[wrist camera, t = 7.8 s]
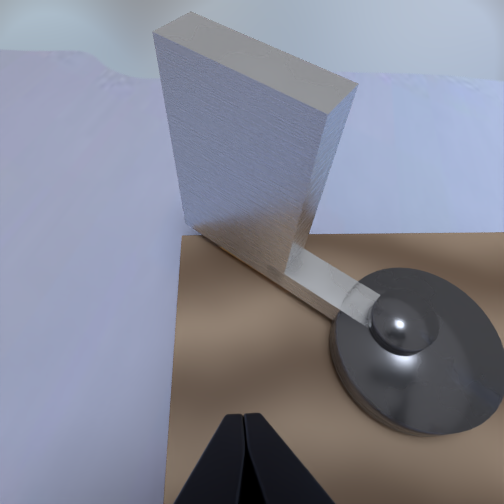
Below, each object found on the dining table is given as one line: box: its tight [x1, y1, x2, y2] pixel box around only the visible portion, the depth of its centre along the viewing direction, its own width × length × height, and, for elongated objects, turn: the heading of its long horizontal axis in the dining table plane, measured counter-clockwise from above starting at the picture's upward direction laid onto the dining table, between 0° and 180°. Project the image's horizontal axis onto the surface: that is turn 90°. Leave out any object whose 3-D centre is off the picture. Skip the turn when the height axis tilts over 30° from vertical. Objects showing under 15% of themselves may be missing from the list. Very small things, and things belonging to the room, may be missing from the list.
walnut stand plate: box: [163, 232, 504, 504], centre depth 18 cm, size 18×22×2 cm
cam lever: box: [153, 12, 504, 437], centre depth 15 cm, size 18×8×11 cm, turn 54°
